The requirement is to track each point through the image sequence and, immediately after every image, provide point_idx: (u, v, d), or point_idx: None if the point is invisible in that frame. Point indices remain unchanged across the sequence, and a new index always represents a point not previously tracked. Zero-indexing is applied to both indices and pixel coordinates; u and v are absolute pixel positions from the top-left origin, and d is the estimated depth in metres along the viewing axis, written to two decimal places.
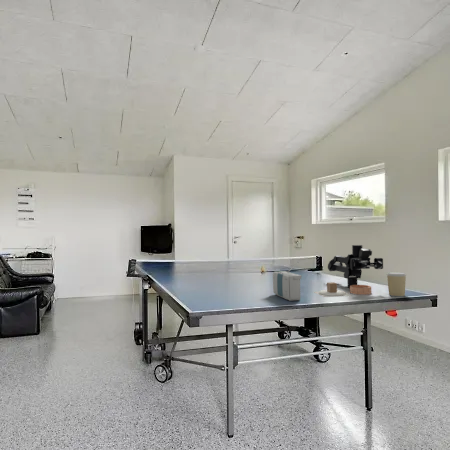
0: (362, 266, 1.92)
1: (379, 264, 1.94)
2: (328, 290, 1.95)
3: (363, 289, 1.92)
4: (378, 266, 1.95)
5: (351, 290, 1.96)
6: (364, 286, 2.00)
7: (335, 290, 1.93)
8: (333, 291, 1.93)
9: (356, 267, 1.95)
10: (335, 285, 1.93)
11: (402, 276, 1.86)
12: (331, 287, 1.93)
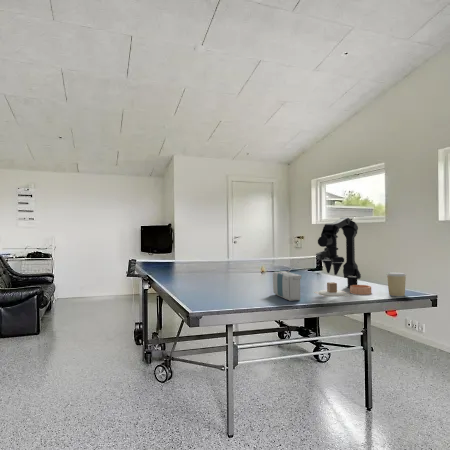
0: None
1: None
2: (328, 290, 1.95)
3: (363, 289, 1.92)
4: None
5: (351, 290, 1.96)
6: (364, 286, 2.00)
7: (335, 290, 1.93)
8: (333, 291, 1.93)
9: None
10: (335, 285, 1.93)
11: (402, 276, 1.86)
12: (331, 287, 1.93)
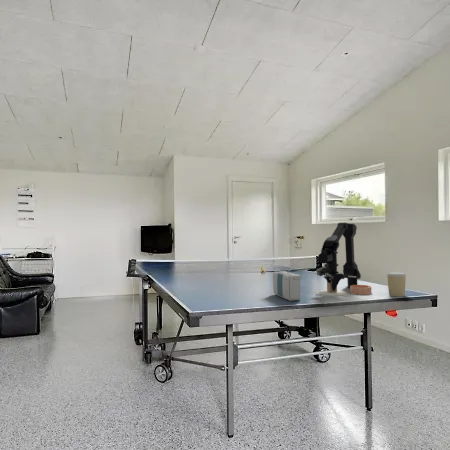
0: None
1: None
2: (328, 290, 1.95)
3: (363, 289, 1.92)
4: None
5: (351, 290, 1.96)
6: (364, 286, 2.00)
7: (335, 290, 1.93)
8: (333, 291, 1.93)
9: None
10: None
11: (402, 276, 1.86)
12: (331, 287, 1.93)
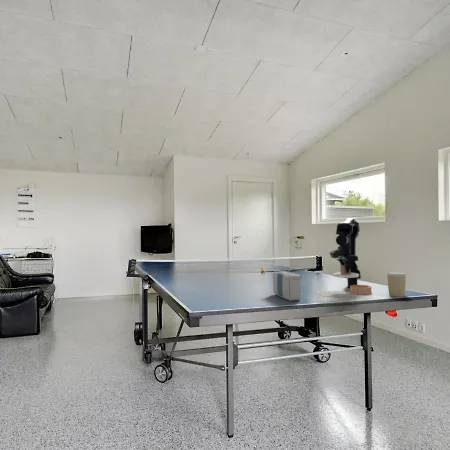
0: None
1: None
2: (341, 272, 1.96)
3: (363, 289, 1.92)
4: None
5: (351, 290, 1.96)
6: (364, 286, 2.00)
7: (349, 272, 1.95)
8: (347, 273, 1.94)
9: None
10: None
11: (402, 276, 1.86)
12: (345, 269, 1.94)
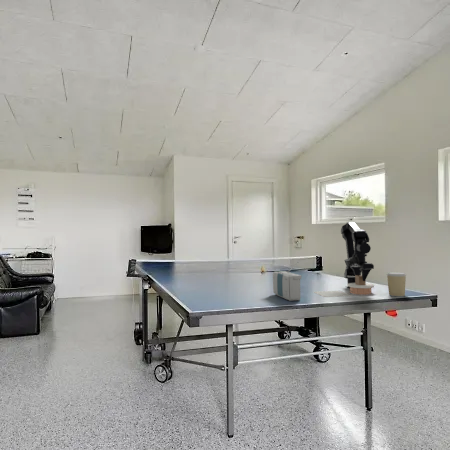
0: None
1: None
2: (356, 283, 1.97)
3: (363, 289, 1.92)
4: None
5: (351, 290, 1.96)
6: None
7: (364, 283, 1.96)
8: (362, 284, 1.95)
9: None
10: None
11: (402, 276, 1.86)
12: (360, 280, 1.95)
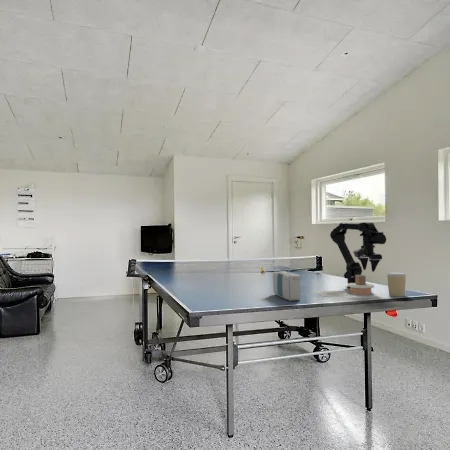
0: None
1: None
2: (356, 283, 1.97)
3: (363, 289, 1.92)
4: None
5: (351, 290, 1.96)
6: None
7: (364, 283, 1.96)
8: (362, 284, 1.95)
9: None
10: (364, 278, 1.96)
11: (402, 276, 1.86)
12: (360, 280, 1.95)
